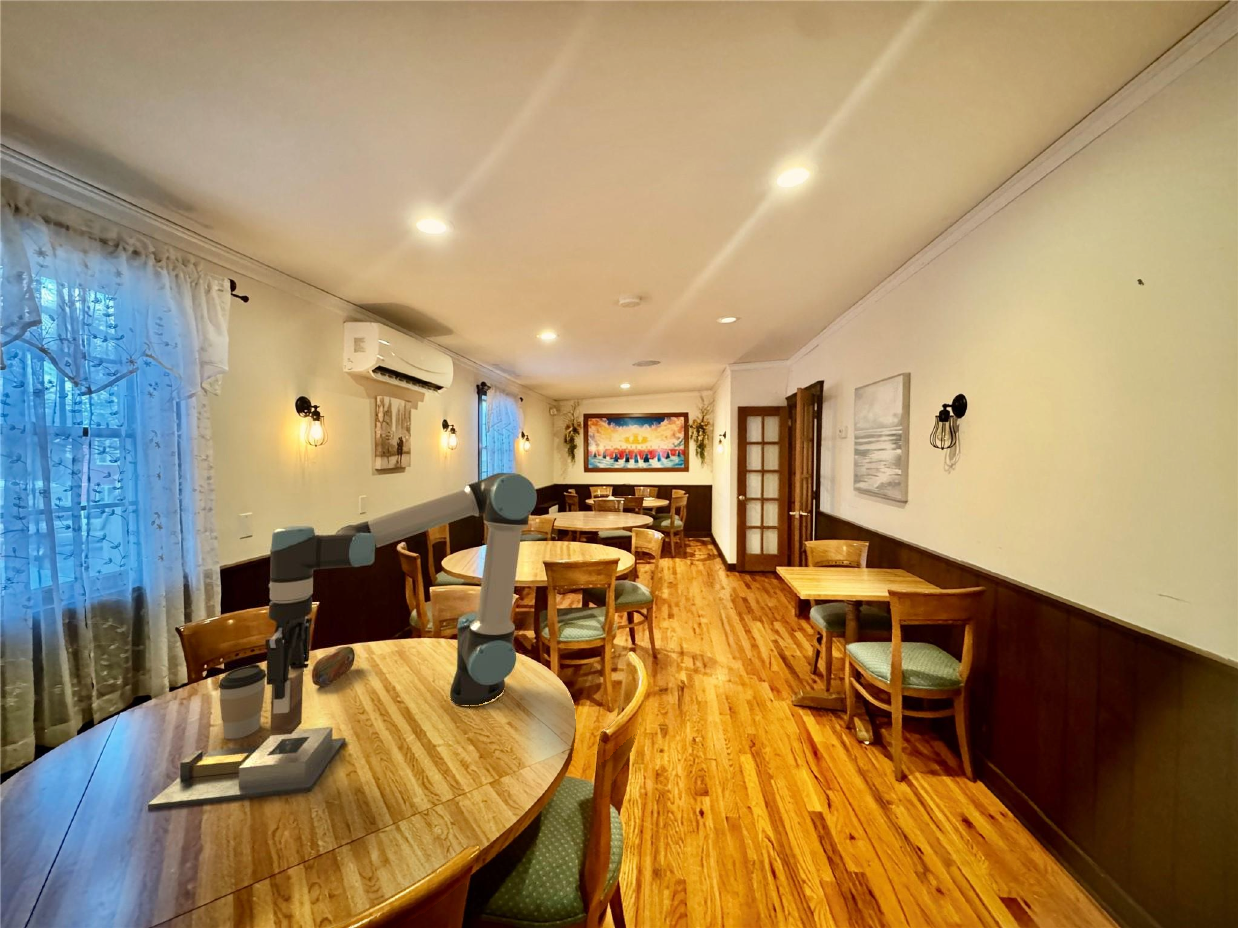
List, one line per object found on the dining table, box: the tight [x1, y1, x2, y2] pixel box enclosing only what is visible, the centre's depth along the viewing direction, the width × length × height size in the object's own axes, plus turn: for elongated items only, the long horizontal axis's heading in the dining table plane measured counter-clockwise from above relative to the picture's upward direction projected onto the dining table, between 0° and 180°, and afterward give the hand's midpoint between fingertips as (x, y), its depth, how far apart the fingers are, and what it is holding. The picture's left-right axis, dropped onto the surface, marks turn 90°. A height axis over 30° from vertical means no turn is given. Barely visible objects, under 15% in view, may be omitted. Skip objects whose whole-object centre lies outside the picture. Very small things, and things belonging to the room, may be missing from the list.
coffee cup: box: [217, 663, 267, 740], centre depth 108 cm, size 9×9×15 cm
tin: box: [311, 646, 356, 687], centre depth 134 cm, size 15×3×8 cm, turn 174°
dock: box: [147, 726, 346, 810], centre depth 93 cm, size 28×16×5 cm, turn 100°
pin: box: [179, 749, 248, 780], centre depth 92 cm, size 11×4×4 cm, turn 100°
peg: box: [269, 668, 305, 737], centre depth 94 cm, size 4×4×12 cm
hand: (288, 705), depth 94 cm, fingers closed on peg, 4 cm apart
